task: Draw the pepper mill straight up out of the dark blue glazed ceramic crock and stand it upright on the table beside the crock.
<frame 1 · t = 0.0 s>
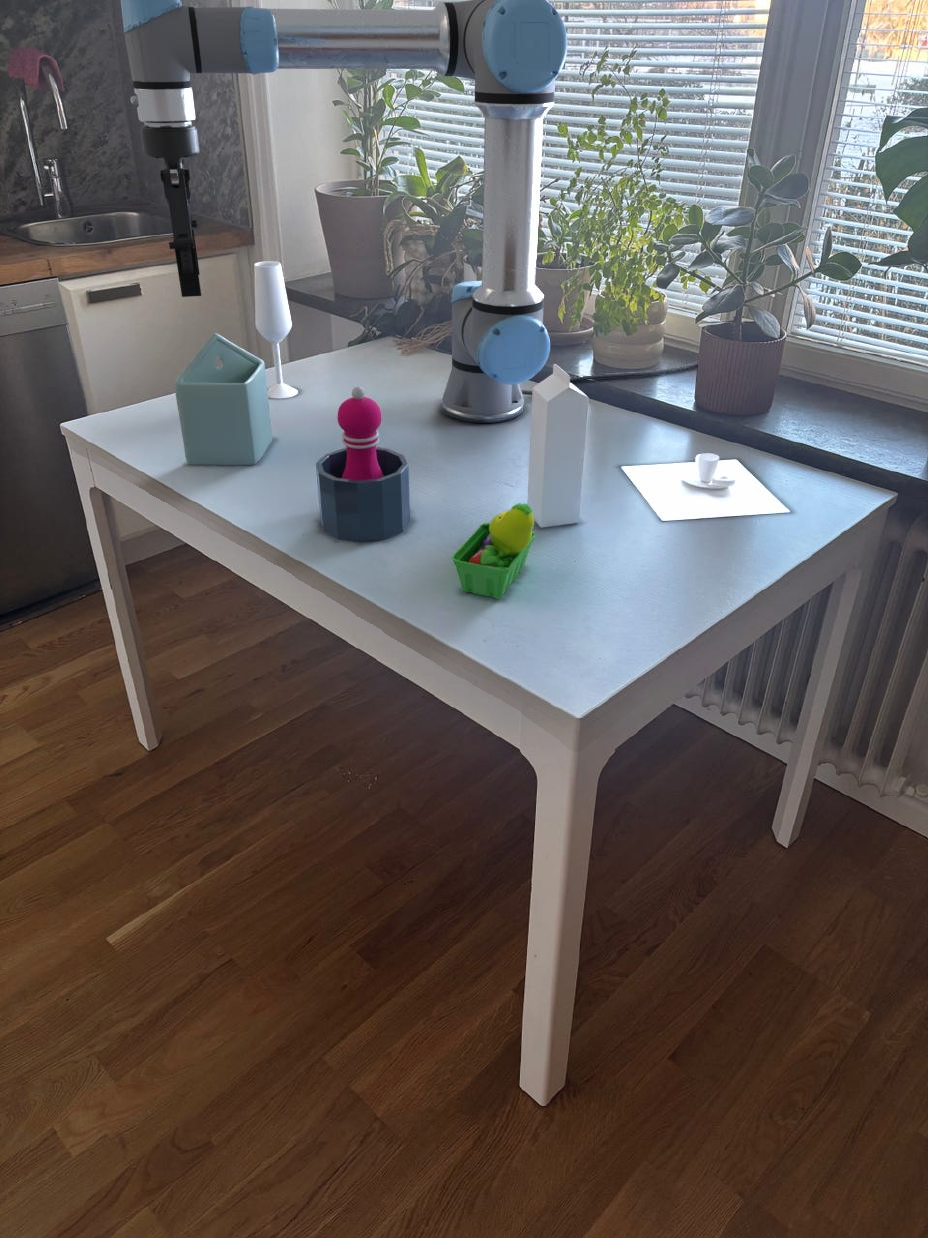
hand: (191, 284, 139), 28 cm above the table, tool pointing down, fingers open, 13 cm apart
crock: (365, 521, 136), on the table
fruit basket: (497, 581, 122), on the table
teacup and saucer: (701, 489, 146), on the table
milk: (552, 517, 138), on the table
champagne flute: (280, 393, 183), on the table
pepper mill: (365, 522, 136), resting in crock
planter: (242, 458, 155), on the table
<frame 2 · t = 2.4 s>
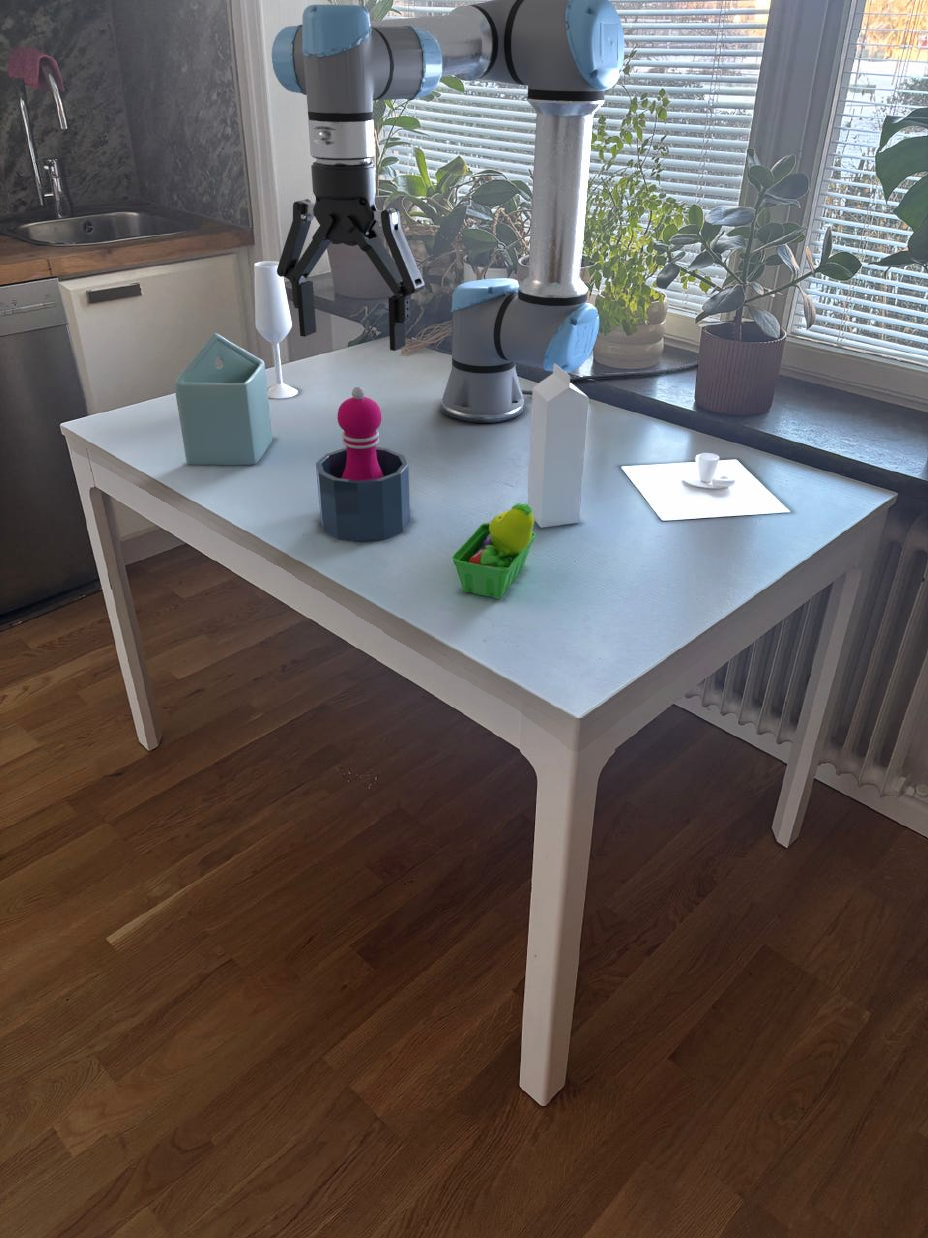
hand: (352, 340, 122), 26 cm above the table, tool pointing down, fingers open, 13 cm apart
nothing on the table moved.
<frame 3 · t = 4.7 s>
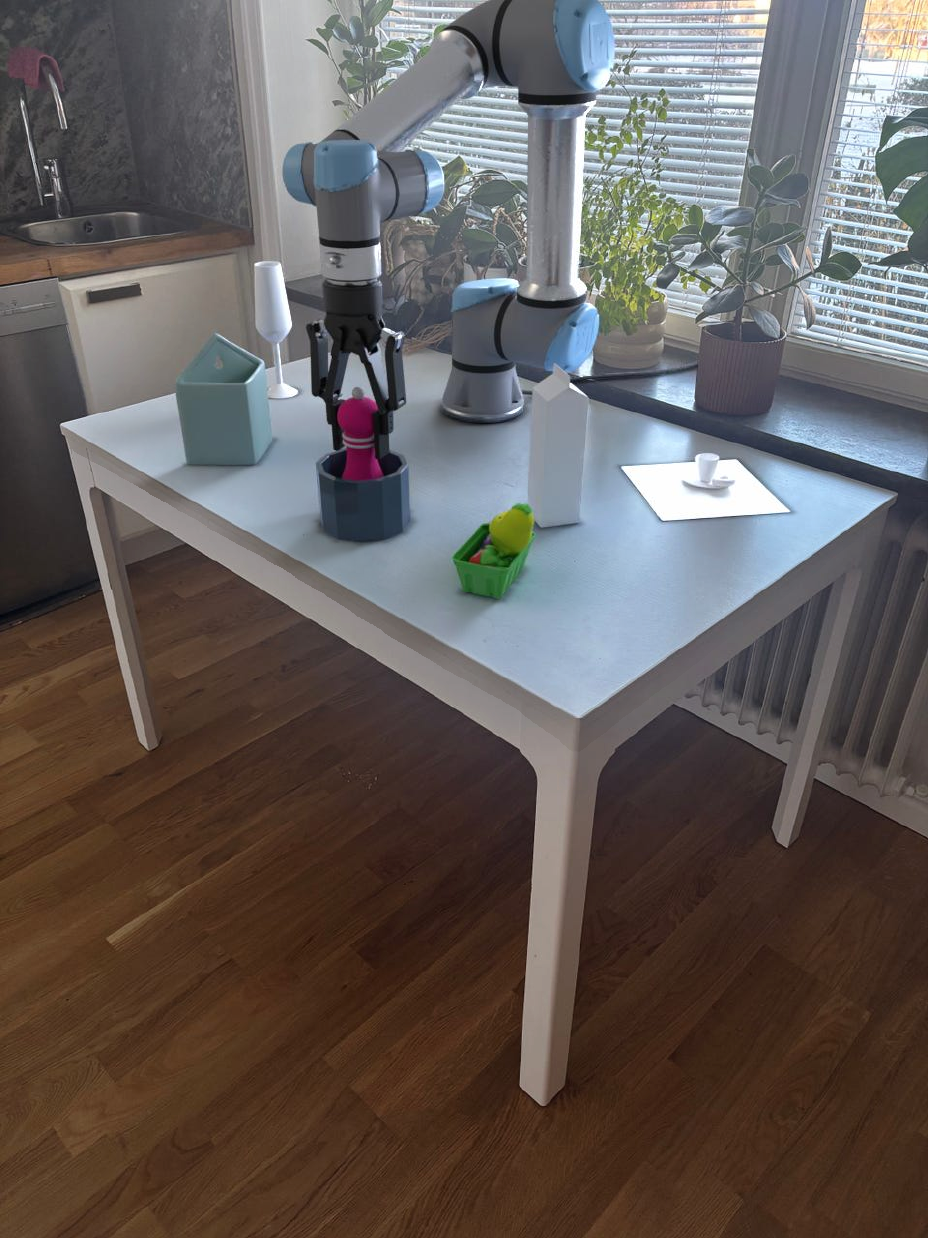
hand: (361, 450, 130), 11 cm above the table, tool pointing down, fingers closed on pepper mill, 6 cm apart
pepper mill: (365, 522, 136), resting in crock, touching gripper
everything else where it was.
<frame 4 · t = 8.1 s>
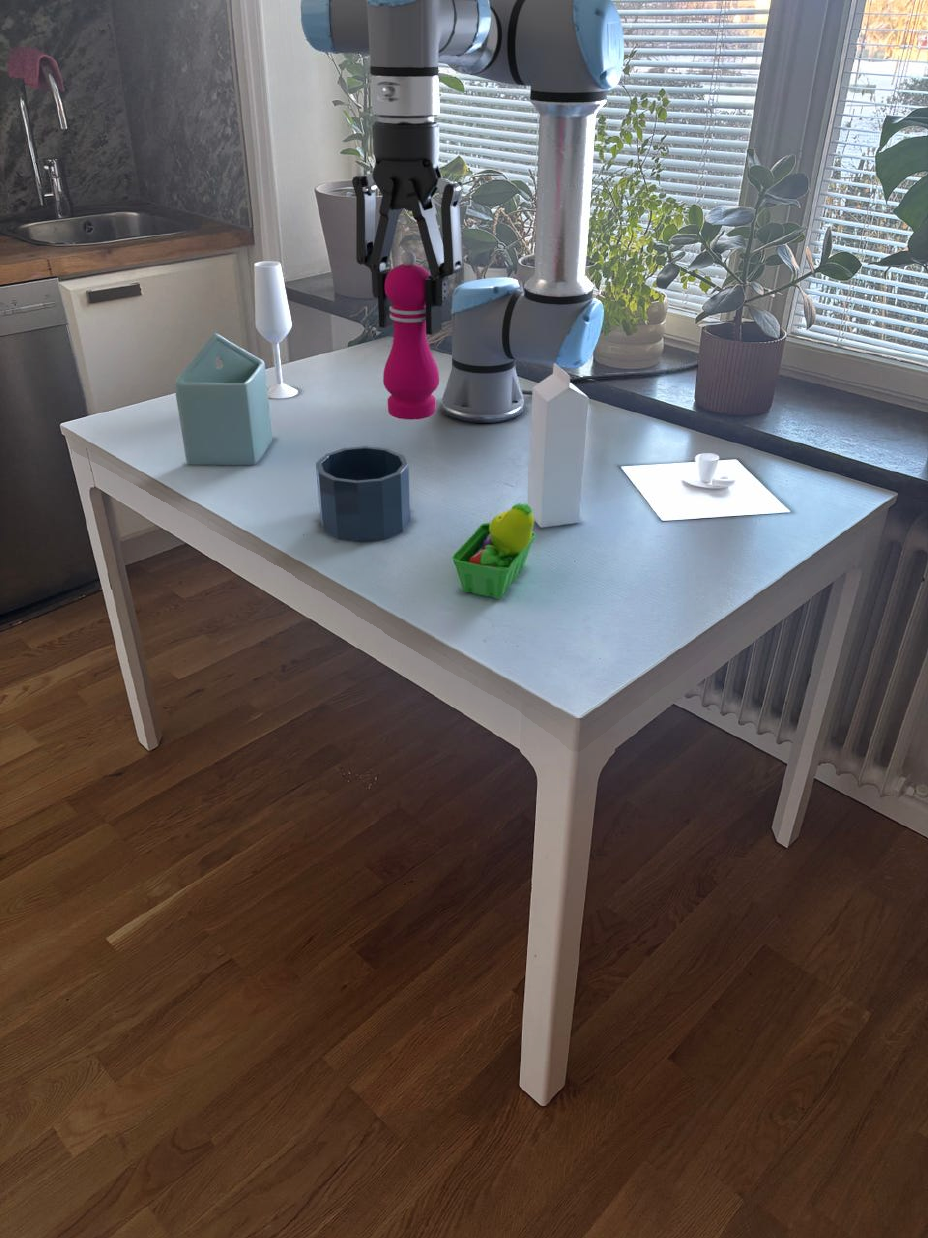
hand: (410, 327, 117), 29 cm above the table, tool pointing down, fingers closed on pepper mill, 6 cm apart
pepper mill: (412, 412, 123), point 18 cm above the table, touching gripper
everything else where it was.
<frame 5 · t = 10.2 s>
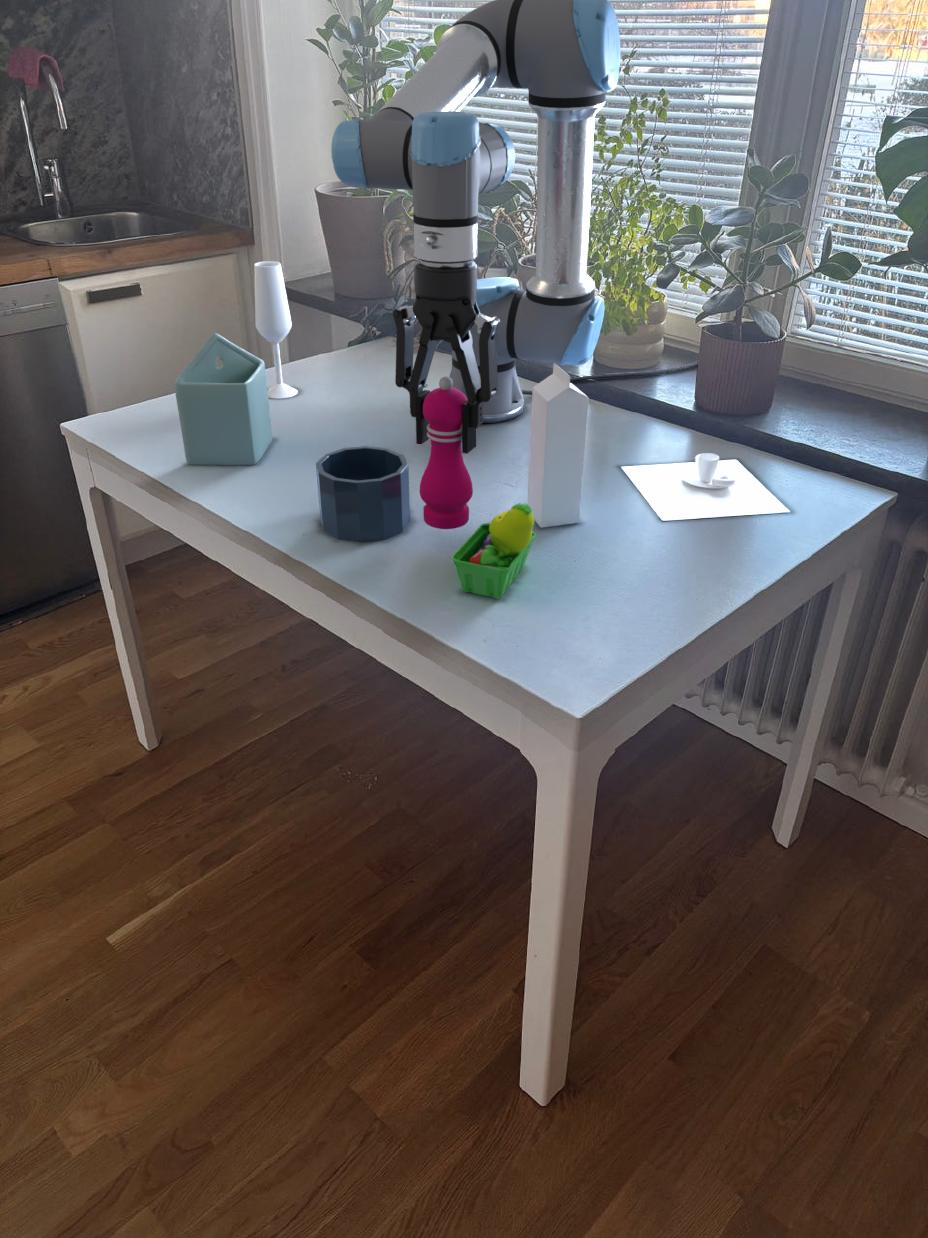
hand: (446, 444, 123), 14 cm above the table, tool pointing down, fingers closed on pepper mill, 6 cm apart
pepper mill: (446, 520, 129), point 3 cm above the table, touching gripper
everything else where it was.
when the fingers open (11 cm above the table, at t = 11.6 s): pepper mill stays where it is, on the table.
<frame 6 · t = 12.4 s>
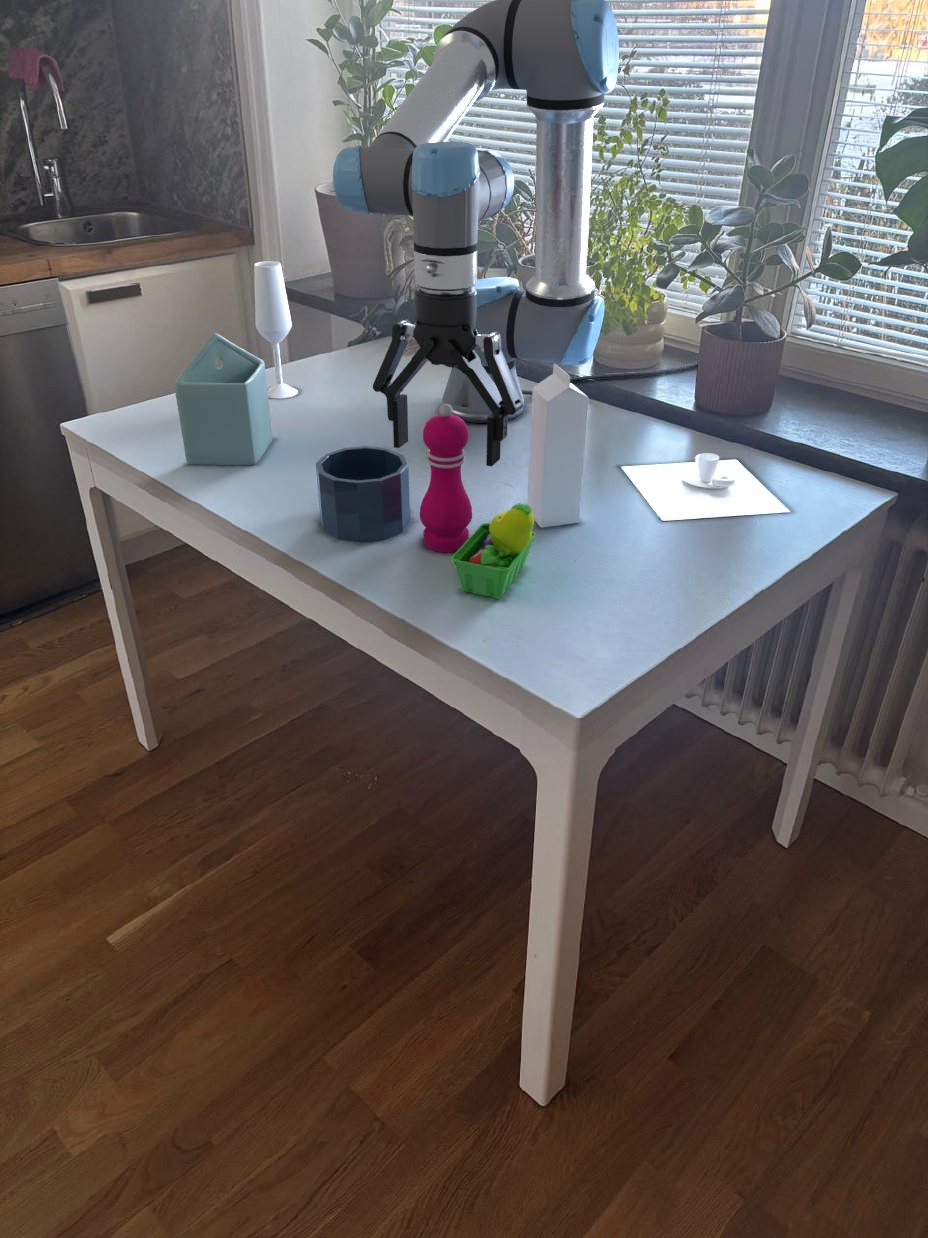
hand: (446, 453, 124), 13 cm above the table, tool pointing down, fingers open, 13 cm apart
pepper mill: (446, 543, 131), on the table
everything else where it was.
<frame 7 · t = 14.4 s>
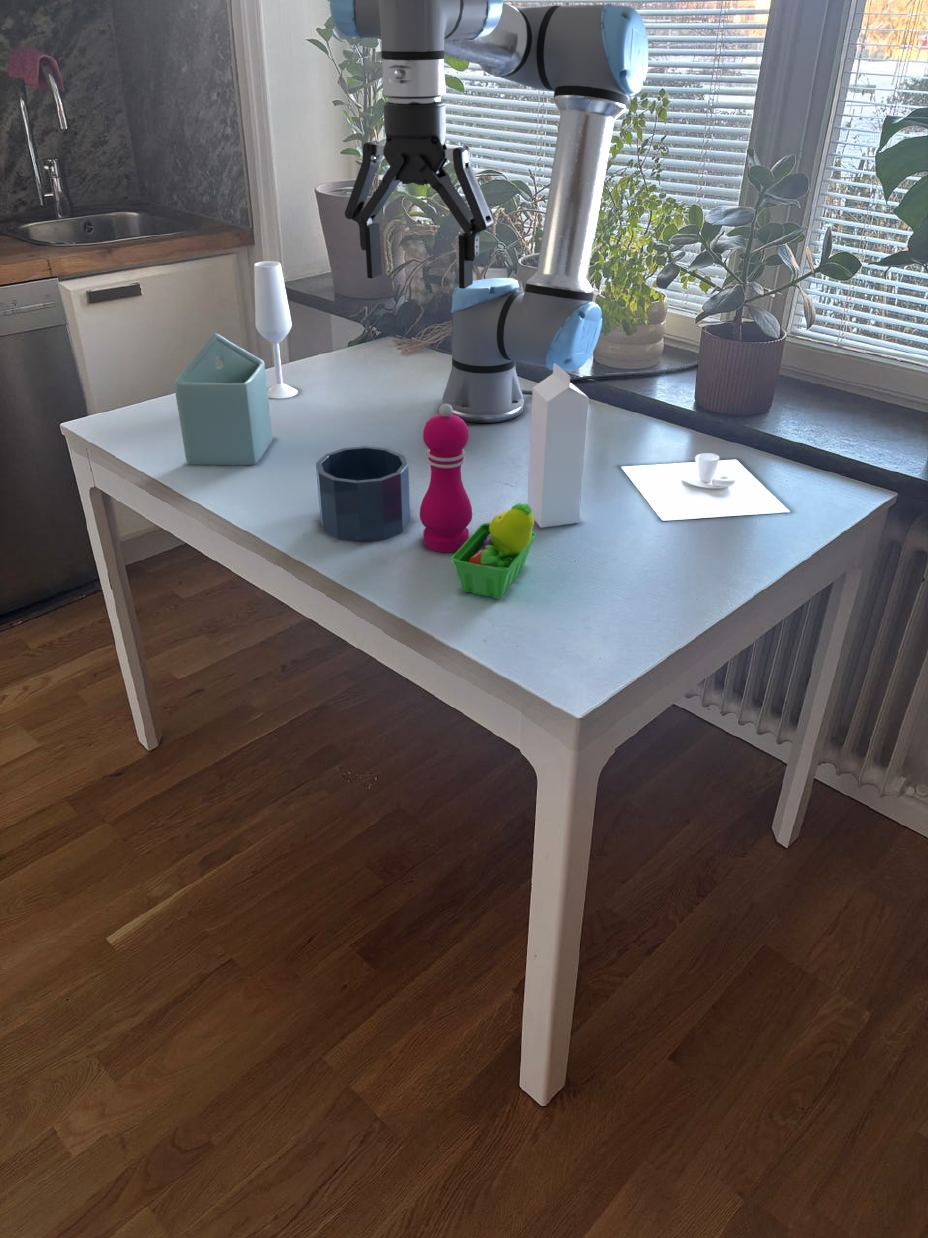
hand: (419, 281, 125), 32 cm above the table, tool pointing down, fingers open, 13 cm apart
nothing on the table moved.
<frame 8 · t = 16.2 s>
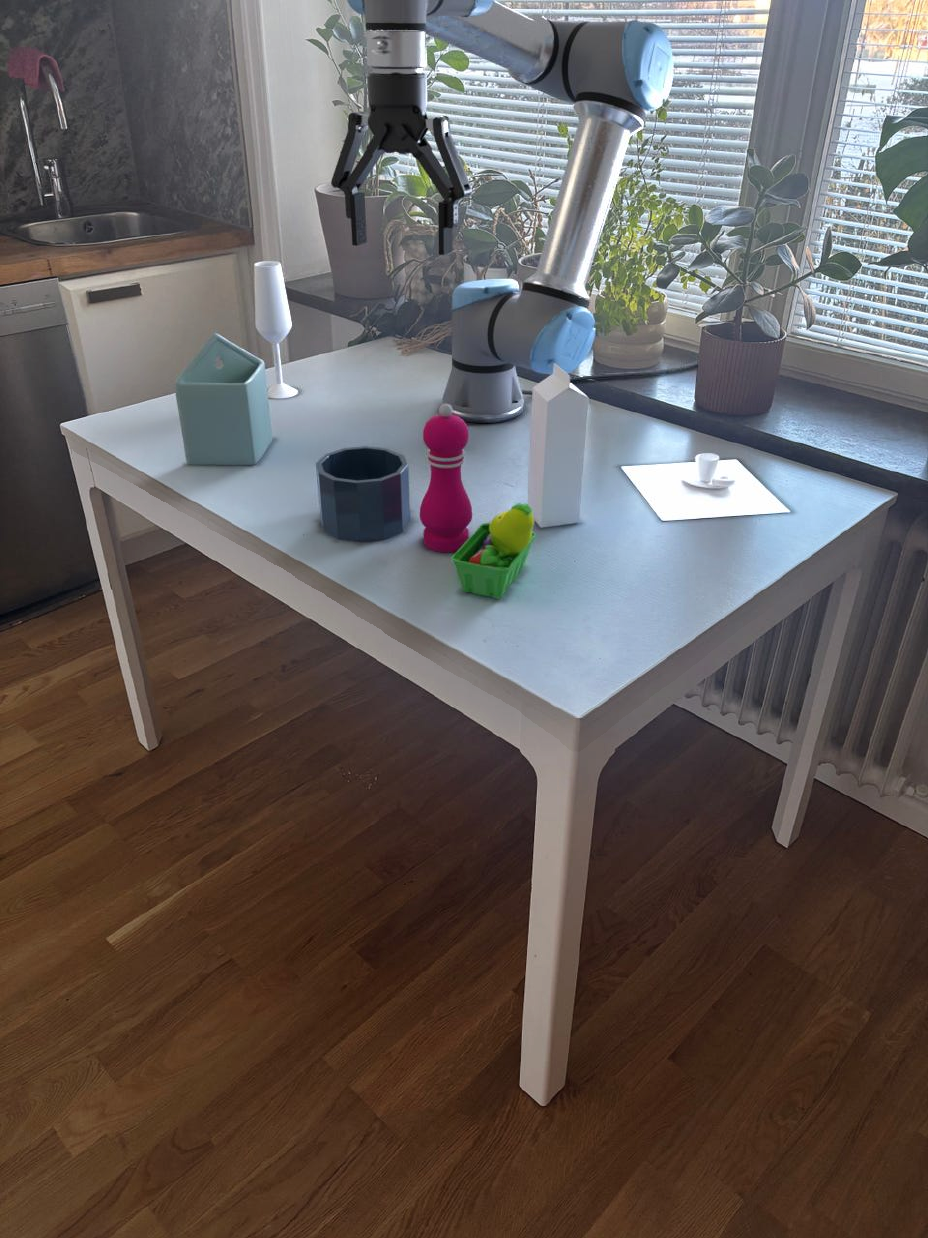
hand: (401, 248, 130), 35 cm above the table, tool pointing down, fingers open, 13 cm apart
nothing on the table moved.
at the end: pepper mill inside the target area (0.1 cm from its centre), on the table; pepper mill tilted 0°; pepper mill touching table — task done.
